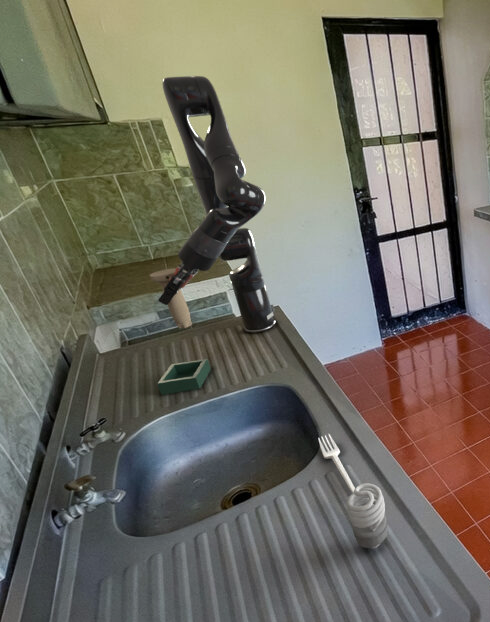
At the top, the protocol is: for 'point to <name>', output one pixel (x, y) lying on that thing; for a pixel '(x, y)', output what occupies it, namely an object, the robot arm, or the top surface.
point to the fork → (335, 459)
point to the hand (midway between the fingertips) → (165, 299)
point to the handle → (174, 299)
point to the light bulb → (368, 515)
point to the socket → (184, 376)
